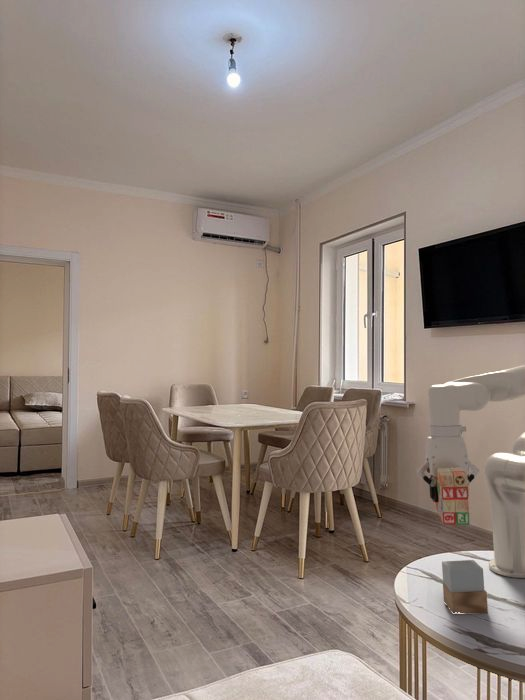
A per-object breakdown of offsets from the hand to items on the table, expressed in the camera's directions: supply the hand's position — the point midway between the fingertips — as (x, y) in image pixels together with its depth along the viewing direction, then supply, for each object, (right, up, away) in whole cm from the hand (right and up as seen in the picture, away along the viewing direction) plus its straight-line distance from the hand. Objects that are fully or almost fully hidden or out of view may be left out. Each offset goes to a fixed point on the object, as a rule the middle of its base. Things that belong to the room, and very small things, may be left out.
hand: (449, 500), depth 137 cm
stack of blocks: (0, -4, 0) cm, 4 cm away
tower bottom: (-1, -22, -14) cm, 26 cm away
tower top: (-1, -17, -13) cm, 21 cm away
